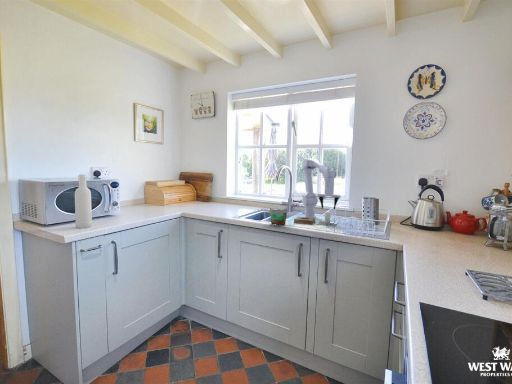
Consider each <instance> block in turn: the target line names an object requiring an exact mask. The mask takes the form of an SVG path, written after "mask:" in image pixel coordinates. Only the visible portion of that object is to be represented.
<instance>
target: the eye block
mask: <svg viewBox="0 0 512 384" xmlns="http://www.w3.org/2000/svg"><path fill="white" fill-rule="evenodd" d="M315 222H316V217H315V218H310V217H304V216H296V217H295V218H294V219H293V224H302V225H314V223H315Z"/></svg>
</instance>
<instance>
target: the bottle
mask: <svg viewBox="0 0 512 384" xmlns="http://www.w3.org/2000/svg"><path fill="white" fill-rule="evenodd" d="M87 186H88V185H87V175H86V174H78V187H77V188H76V189H75V191H74V209H75V210H74V211H75V212H74V213H75V215H74V216H75V228H76V229H89V228H91V227H93V217H92V216H93V215H92V214H93V213H92V212H93V211H92V208H93V207H92V192H91V190H90V188H88V187H87Z"/></svg>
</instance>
